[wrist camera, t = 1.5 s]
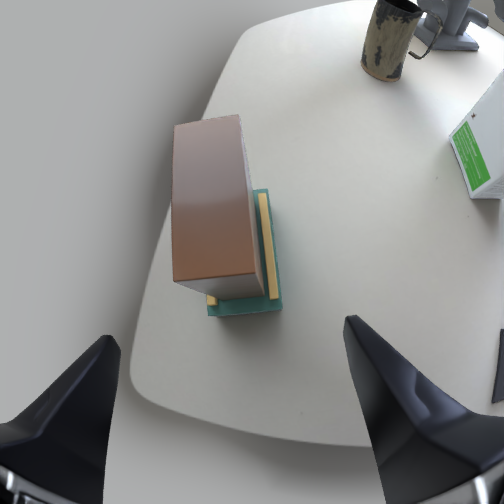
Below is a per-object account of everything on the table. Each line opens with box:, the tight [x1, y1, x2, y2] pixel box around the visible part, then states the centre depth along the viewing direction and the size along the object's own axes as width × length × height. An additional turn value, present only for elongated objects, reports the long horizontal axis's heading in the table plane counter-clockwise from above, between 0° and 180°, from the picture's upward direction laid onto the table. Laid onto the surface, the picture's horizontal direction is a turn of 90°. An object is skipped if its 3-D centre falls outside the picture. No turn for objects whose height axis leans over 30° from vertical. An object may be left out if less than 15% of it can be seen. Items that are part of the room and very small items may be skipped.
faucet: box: [414, 0, 504, 50], centre depth 19 cm, size 18×16×20 cm
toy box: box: [206, 189, 282, 316], centre depth 21 cm, size 9×5×4 cm, turn 6°
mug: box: [361, 0, 443, 82], centre depth 22 cm, size 8×6×12 cm
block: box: [171, 115, 265, 300], centre depth 15 cm, size 7×3×10 cm, turn 6°
